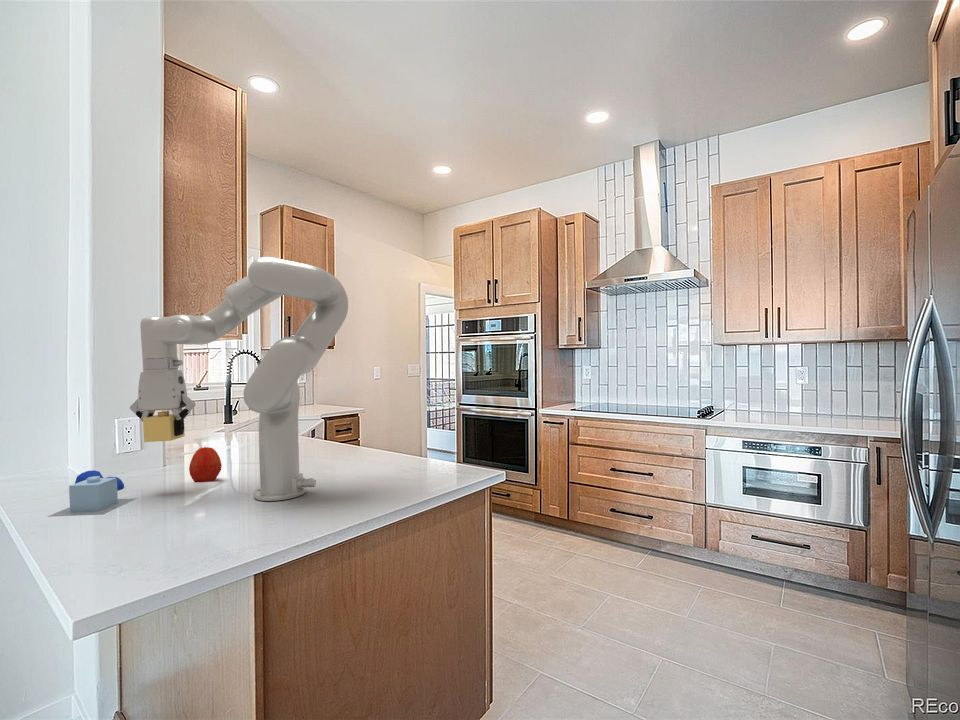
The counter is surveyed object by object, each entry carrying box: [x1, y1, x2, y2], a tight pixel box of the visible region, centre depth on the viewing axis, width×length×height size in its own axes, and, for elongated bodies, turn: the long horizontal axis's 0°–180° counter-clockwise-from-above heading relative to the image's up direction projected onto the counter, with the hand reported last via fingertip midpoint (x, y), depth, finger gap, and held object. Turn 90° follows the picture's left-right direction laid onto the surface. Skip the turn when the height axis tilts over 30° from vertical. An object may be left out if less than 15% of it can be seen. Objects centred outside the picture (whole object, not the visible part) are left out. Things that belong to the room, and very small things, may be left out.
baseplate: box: [47, 497, 138, 518], centre depth 117 cm, size 12×12×2 cm
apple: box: [188, 446, 223, 483], centre depth 141 cm, size 8×8×11 cm
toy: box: [74, 469, 125, 492], centre depth 134 cm, size 7×6×15 cm
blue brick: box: [68, 476, 119, 512], centre depth 117 cm, size 6×6×7 cm
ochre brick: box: [142, 410, 185, 443], centre depth 126 cm, size 6×6×7 cm
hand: (164, 435), depth 126 cm, fingers closed on ochre brick, 6 cm apart
